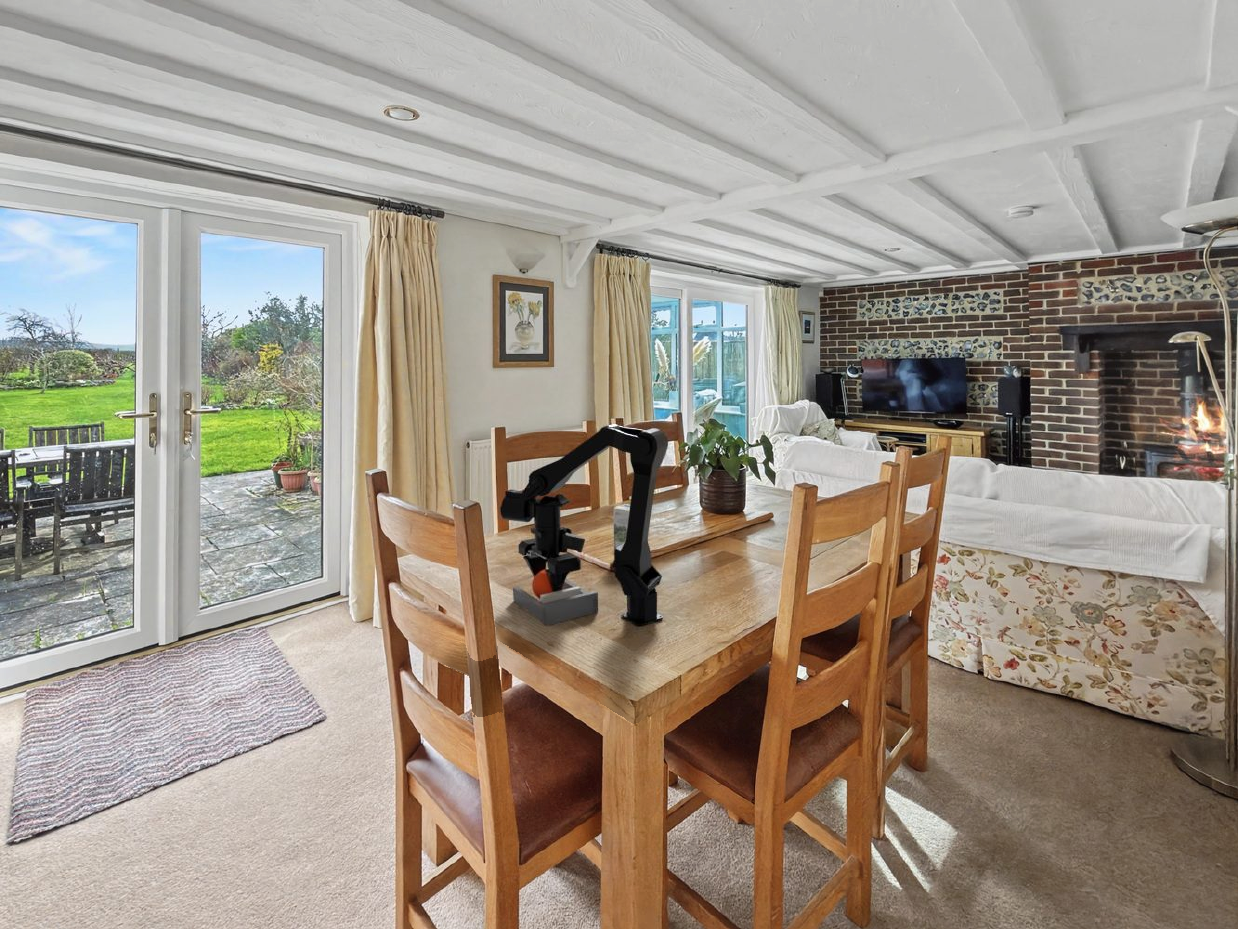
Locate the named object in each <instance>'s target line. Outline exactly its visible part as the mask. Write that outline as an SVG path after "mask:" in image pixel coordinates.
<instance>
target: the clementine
mask: <svg viewBox="0 0 1238 929" xmlns="http://www.w3.org/2000/svg"><path fill="white" fill-rule="evenodd" d="M545 570H548V568H546V569H545ZM545 570H542V571H540V572H539V573H538V574H536V576H535V577H534V576H533V577H534V578H533V580H532V583H531V584H532V585H531V587H532V592H533V594H534V595H535V597H536V598H538V599H539V600H540V595H543V594H547V593H552V589H551V586H550V583H549V580H548V577H547V574H546V571H545ZM563 586H564V585H563ZM562 590H563V588H562Z"/></svg>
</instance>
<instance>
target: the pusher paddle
mask: <svg viewBox="0 0 1238 929" xmlns="http://www.w3.org/2000/svg"><path fill="white" fill-rule="evenodd" d="M578 586H579V585H577V587H573V588H568V589H564V590H560V591H556V592H552V593H547V594H543V595H540V599H539V601H540V602H541V603H547V602H551V601H555V600H559V599H563V598H567V597H571V596H575V595H579V594H581V588H582V587H581V586H579V587H578ZM580 587H581V588H580Z"/></svg>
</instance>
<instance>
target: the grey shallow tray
mask: <svg viewBox="0 0 1238 929" xmlns="http://www.w3.org/2000/svg"><path fill="white" fill-rule="evenodd" d="M577 586H578V587H580V588H581V594H579V595H575V596H571V597H567V598H563V599H559V600H555V601H551V602H547V603H541V602H540V600H538V599H537V597H536V598H535V597H534V596H532V594H530V593H529V592H527V591H525V590H524V589H523V588H521V587H520V586H518V585H517V586H513V587H512V594H513V595H512V596H513V598H512V599H513V600H514V601H515V602H514V601H513V602H514V603H516V604H517V603H518V604H519V607H521V608H522V609H523V610H525V611H526V612H528V613H529V614H530V613H531V614H530V615H532V614H533V615H534V616H535V617H534V616H533V615H532V616H533V617H534V618H535V619H537V620H538V619H539V620H538V621H539V622H541V623H542V624H544V625H545V626H546V627H547V626H550V625H551V626H552V625H554V624H557V623H558V622H559V623H561V622H565V621H569V620H573V619H577V618H580V617H584V616H588V615H592V614H595V613H598V612H599V592H598V591H596V590H592V591H587V590H586V589H584V588H582V587H581V586H579V585H578V584H576V583H574V582H572V581H570V580H569V579H567V578H566V579H565V582H564V586H563V590H564V589H568V588H573V587H577ZM518 604H517V605H518Z"/></svg>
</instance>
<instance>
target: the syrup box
mask: <svg viewBox="0 0 1238 929" xmlns="http://www.w3.org/2000/svg"><path fill="white" fill-rule="evenodd" d="M629 511H630V504H627V503H622V504H619V505H617V506H615V507H613V551H614V550H615V549H616V548H617V547H619V546H620V545H621V544H623V543H624V542H625V541H626V534H627V526H628V518H629Z"/></svg>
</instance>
